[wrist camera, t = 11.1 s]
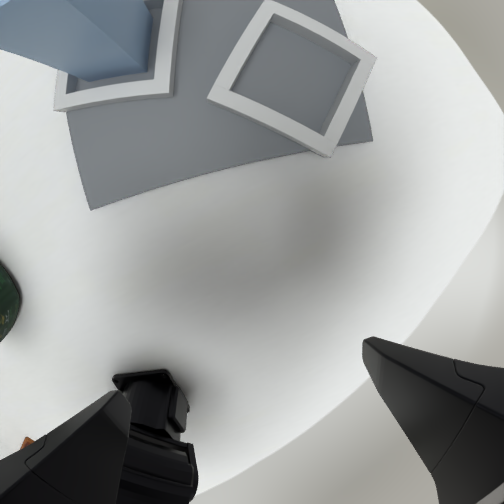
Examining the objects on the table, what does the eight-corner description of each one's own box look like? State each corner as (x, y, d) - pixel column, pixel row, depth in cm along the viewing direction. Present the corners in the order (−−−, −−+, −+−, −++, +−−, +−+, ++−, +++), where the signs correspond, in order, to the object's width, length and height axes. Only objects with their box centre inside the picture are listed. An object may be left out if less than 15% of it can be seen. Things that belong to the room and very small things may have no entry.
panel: (95, 215, 19) (81, 224, 17) (61, 31, 13) (46, 23, 11) (379, 146, 19) (396, 147, 17) (326, -30, 13) (336, -44, 11)
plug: (147, 72, 15) (44, -18, 3) (89, 82, 15) (-43, 38, 3) (154, 10, 13) (91, -103, 1) (97, 21, 13) (1, -57, 1)
